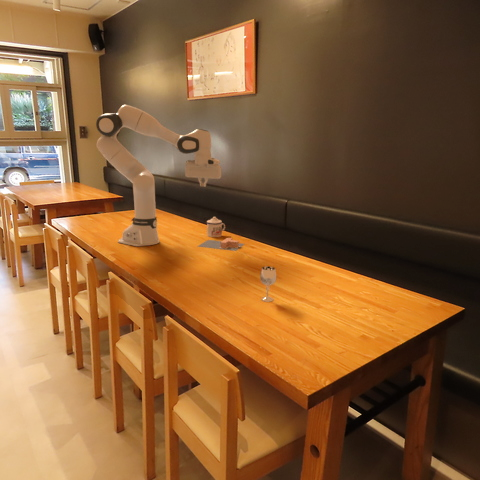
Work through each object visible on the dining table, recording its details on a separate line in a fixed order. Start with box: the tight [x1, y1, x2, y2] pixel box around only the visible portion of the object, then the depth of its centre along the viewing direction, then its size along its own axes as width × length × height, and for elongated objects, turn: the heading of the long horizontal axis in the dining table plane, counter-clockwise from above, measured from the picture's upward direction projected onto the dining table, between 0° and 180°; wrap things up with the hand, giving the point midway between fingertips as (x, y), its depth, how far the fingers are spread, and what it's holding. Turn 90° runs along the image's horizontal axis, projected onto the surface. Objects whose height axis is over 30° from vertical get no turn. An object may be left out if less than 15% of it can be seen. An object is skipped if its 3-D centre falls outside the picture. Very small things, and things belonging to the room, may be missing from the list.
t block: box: [220, 237, 240, 248], centre depth 211 cm, size 8×10×3 cm
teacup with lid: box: [206, 216, 226, 238], centre depth 234 cm, size 12×9×12 cm
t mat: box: [197, 239, 245, 252], centre depth 214 cm, size 22×15×1 cm
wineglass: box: [259, 265, 277, 303], centre depth 143 cm, size 6×6×12 cm
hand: (203, 186), depth 214 cm, fingers closed
